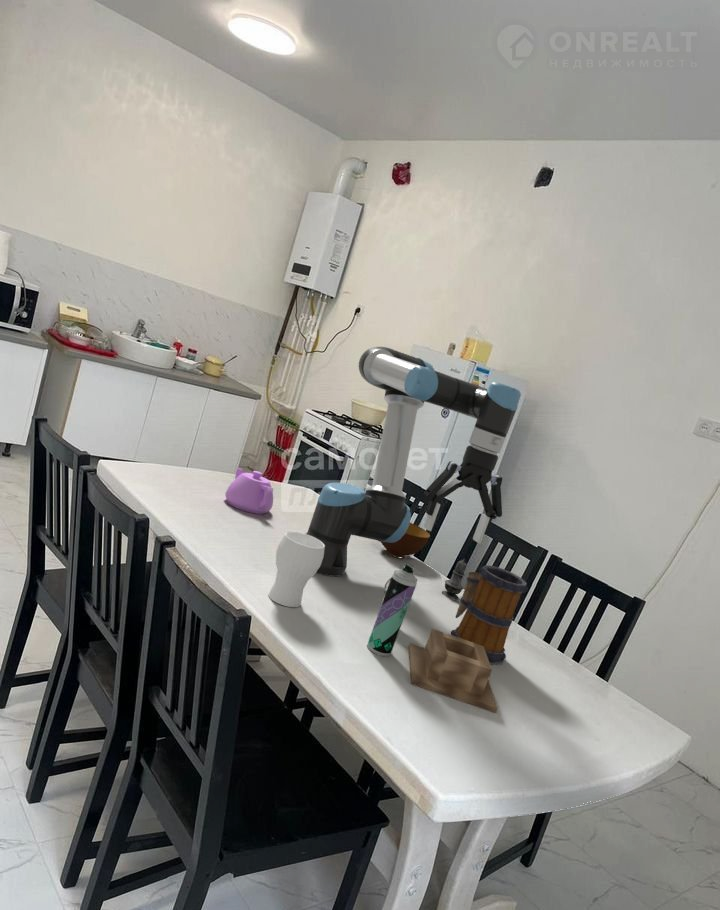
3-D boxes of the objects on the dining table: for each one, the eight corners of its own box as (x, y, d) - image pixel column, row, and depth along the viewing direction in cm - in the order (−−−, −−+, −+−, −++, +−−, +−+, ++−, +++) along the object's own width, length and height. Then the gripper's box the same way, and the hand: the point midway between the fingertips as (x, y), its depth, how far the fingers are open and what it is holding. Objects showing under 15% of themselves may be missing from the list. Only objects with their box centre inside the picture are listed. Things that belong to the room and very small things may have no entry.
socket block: (411, 683, 139) (423, 652, 138) (408, 647, 156) (418, 619, 155) (496, 712, 139) (508, 681, 138) (483, 672, 157) (494, 644, 156)
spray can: (365, 640, 152) (395, 557, 149) (388, 647, 152) (419, 564, 150) (367, 652, 146) (399, 565, 144) (392, 659, 147) (424, 573, 144)
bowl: (361, 547, 223) (372, 519, 222) (379, 540, 240) (389, 513, 238) (411, 569, 218) (422, 540, 216) (426, 560, 234) (436, 533, 233)
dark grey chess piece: (459, 602, 202) (473, 564, 200) (440, 594, 203) (454, 557, 201) (460, 596, 208) (473, 559, 206) (441, 589, 208) (455, 552, 207)
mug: (428, 621, 177) (455, 550, 174) (473, 629, 183) (500, 560, 180) (467, 662, 160) (498, 583, 157) (515, 668, 166) (545, 592, 163)
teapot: (283, 521, 222) (295, 486, 221) (243, 517, 212) (255, 480, 210) (249, 496, 238) (260, 464, 237) (210, 491, 228) (221, 457, 226)
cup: (314, 605, 162) (334, 546, 160) (292, 614, 152) (313, 552, 150) (277, 585, 166) (296, 528, 164) (253, 594, 156) (273, 532, 154)
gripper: (444, 438, 151) (412, 528, 153) (536, 467, 160) (504, 551, 163) (430, 431, 157) (399, 518, 160) (519, 459, 167) (488, 540, 169)
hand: (452, 535), depth 161 cm, fingers open, 13 cm apart
